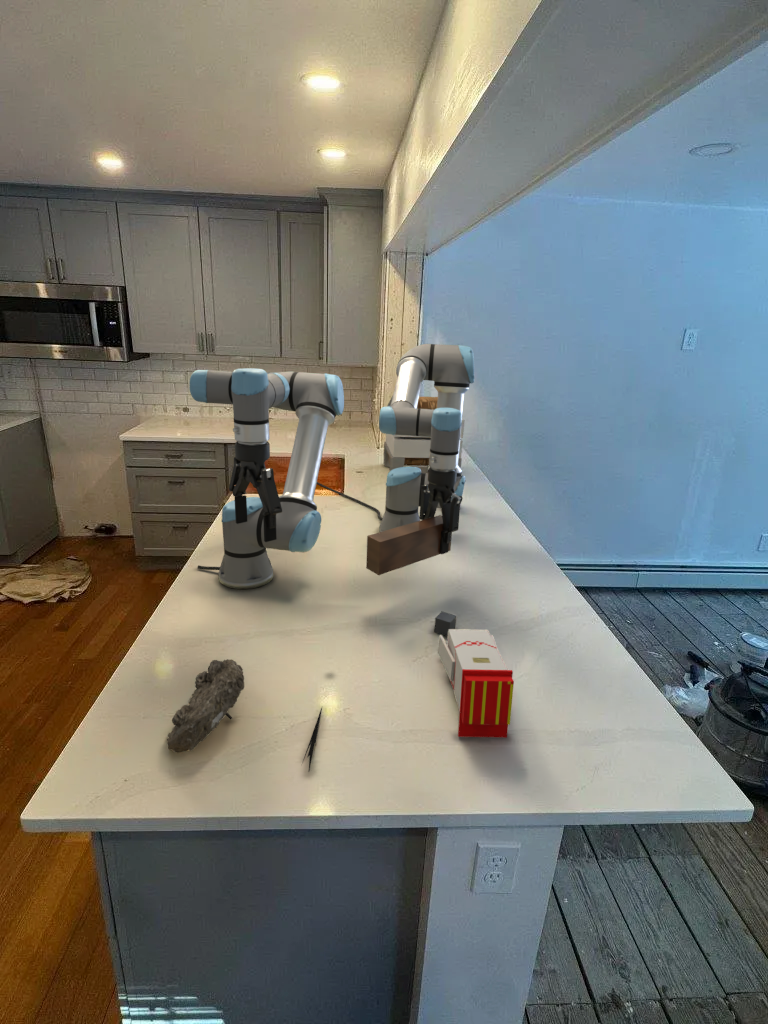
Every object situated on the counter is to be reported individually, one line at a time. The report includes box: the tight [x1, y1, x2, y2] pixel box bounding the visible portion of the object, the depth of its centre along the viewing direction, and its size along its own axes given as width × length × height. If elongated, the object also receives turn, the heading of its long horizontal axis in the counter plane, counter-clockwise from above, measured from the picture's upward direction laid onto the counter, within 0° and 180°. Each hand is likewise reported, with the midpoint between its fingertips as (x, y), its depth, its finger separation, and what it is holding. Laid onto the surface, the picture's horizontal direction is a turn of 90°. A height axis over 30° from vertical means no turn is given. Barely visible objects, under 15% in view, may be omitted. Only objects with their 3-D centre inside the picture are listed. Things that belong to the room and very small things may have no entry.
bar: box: [365, 514, 453, 576], centre depth 149 cm, size 26×5×9 cm, turn 131°
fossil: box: [166, 658, 245, 754], centre depth 106 cm, size 22×10×15 cm
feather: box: [301, 673, 332, 771], centre depth 108 cm, size 2×28×2 cm
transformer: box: [383, 395, 465, 472], centre depth 268 cm, size 34×33×41 cm
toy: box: [437, 628, 515, 738], centre depth 117 cm, size 12×13×30 cm
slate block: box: [433, 610, 458, 637], centre depth 140 cm, size 4×4×4 cm
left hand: (255, 531), depth 132 cm, fingers open, 13 cm apart
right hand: (436, 549), depth 157 cm, fingers closed on bar, 5 cm apart
